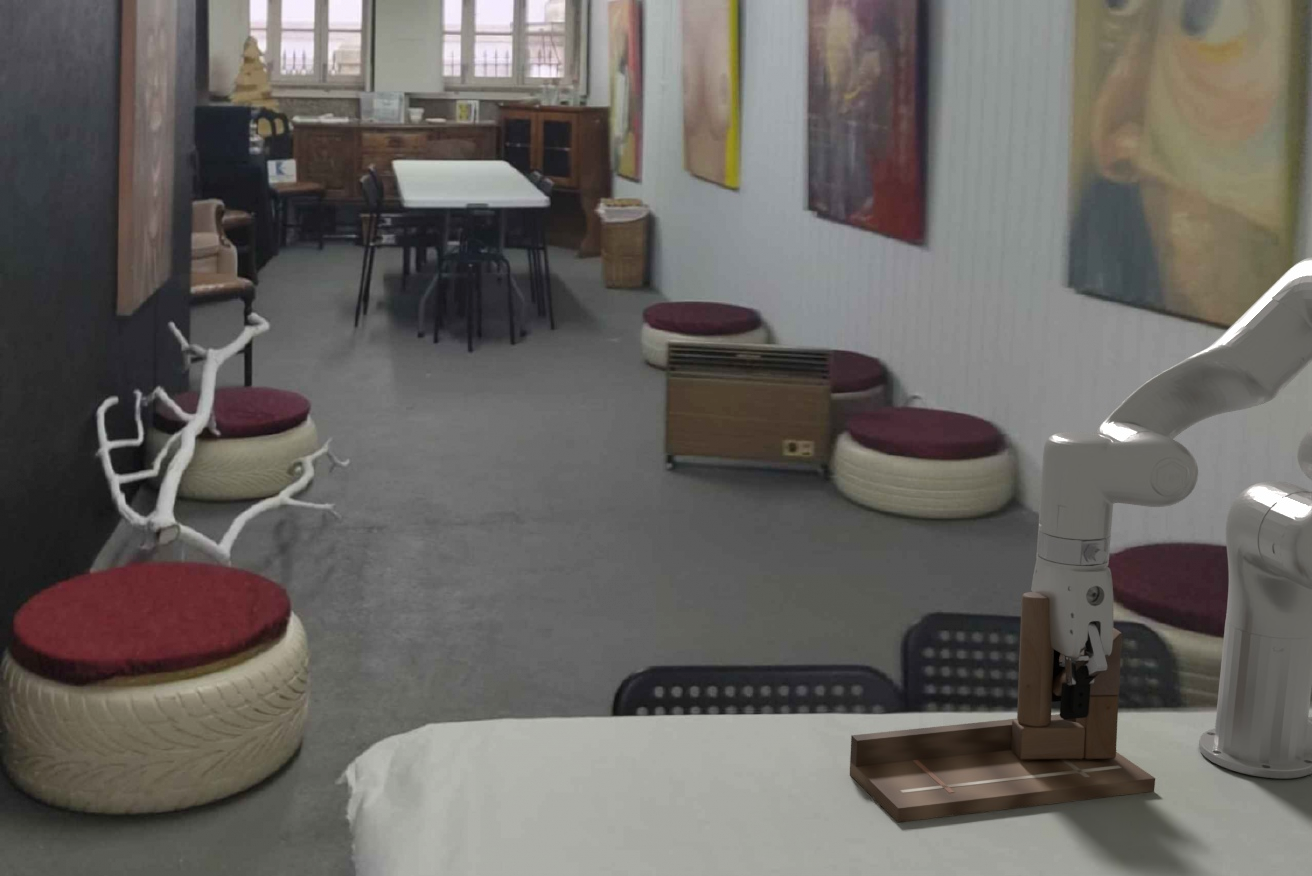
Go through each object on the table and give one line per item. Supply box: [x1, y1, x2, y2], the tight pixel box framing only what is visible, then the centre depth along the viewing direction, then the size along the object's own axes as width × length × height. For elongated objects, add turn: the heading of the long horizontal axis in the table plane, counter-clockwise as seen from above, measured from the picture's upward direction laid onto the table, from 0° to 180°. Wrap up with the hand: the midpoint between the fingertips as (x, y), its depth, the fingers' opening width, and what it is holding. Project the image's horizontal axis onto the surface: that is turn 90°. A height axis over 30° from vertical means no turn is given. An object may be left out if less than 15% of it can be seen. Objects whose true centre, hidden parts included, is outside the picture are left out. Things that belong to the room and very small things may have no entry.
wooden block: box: [1011, 591, 1123, 760], centre depth 162 cm, size 4×11×18 cm, turn 94°
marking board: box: [849, 713, 1156, 823], centre depth 160 cm, size 30×12×4 cm, turn 106°
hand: (1061, 707), depth 163 cm, fingers closed on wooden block, 4 cm apart
